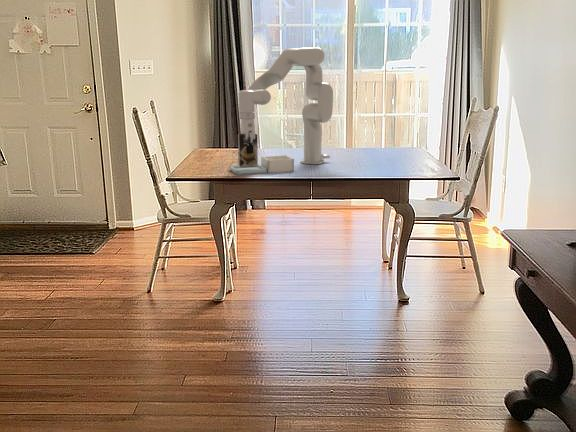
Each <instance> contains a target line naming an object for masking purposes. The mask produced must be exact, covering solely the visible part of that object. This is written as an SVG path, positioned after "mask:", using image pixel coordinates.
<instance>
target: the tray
mask: <svg viewBox="0 0 576 432" xmlns="http://www.w3.org/2000/svg"><path fill="white" fill-rule="evenodd" d="M229 170H230V171H231V172H232V173H233V174H235V175H236V176H245V175H257V174H259V175H260V174H267V172H266V169H265V168H264V167H262V166H261V164H259V163H258V167H245V168H240V167H239V165H230V166H229Z"/></svg>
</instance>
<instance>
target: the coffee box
mask: <svg viewBox="0 0 576 432" xmlns="http://www.w3.org/2000/svg"><path fill="white" fill-rule="evenodd" d="M248 139H250V138H248ZM248 142H249V141H248ZM237 149H238V150H237V151H238V153H237V156H238V166H239V167H240V168H245V167H258V164H259V163H258V161H259V160H258V159H259V158H258V153H259V152H258V151H259V150H258V134H257V133H255V139H253V153H252V154H247V140H246V139H245V135H243V134H241V133H238V134H237Z"/></svg>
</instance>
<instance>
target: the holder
mask: <svg viewBox="0 0 576 432" xmlns="http://www.w3.org/2000/svg"><path fill="white" fill-rule="evenodd" d="M260 161H261V163H260V166H262V167H264V168H265V169H266V173H282V172H292V171H295V158H293V157H291V156H289V155H286V154H285V155H284V154H283V155H281V154H280V155H270V156H267V155H266V156H265V155H264V156H260Z"/></svg>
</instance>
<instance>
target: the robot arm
mask: <svg viewBox="0 0 576 432" xmlns="http://www.w3.org/2000/svg"><path fill="white" fill-rule="evenodd" d="M325 56H326V55H325V52H324V50H323V49H322V48H320V47H318V46H316V47H314V46H313V47H312V46H309V47H308V46H305V47H300V48H299V47H298V48H297V47H295V48H294V47H293V48H292V47H291V48H285V49H284V50H283V51H282V52H281V53H280V54H279V55H278V57H277V59H276V60H275V61H274V62H273V64H272V65H271V67H270V68H269V69H268V70H267V71H264V72H263V73H262V74H261V75H260V76H259V77H257V78H256V79H255V80H254V81H253V82H252V83H251V85H250V86H249V88H248V89H242V90H239V92H238V117H239V120H240V134H243V135H245V139H246V140H247V154H252V153H253V139H255V134H256V130H255V128H256V127H255V118H256V116H255V115H256V112H255V109H256V108H255V105H258V106H259V105H260V106H265V105H267V104H269V103H270V102H271V100H272V96H271V93H270V92H269V91H268V90H267V89H269V88H270V87H273V86H274V85H276V84H279V83H281V82H283V80H285V78H286V77H287V75H288V73H290V71H291V70H292V69H293V67H303V68H304V70H305V75H306V76H305V77H306V79H305V96H306V99H308V100H310V101H316V102H309V103H307V104H305V105H304V106H303V108H302V110H301V111H302V112H301V113H302V120H303V121H302V122H303V158H302V159H301V160H300V163H301V164H303V165H304V164H305V165H320V164H324V163H325V159H331V158H330V157H331V156H330V154H323V153H322V142H323V141H322V140H323V137H322V136H323V135H322V134H323V130H322V129H323V128H322V125H321V123H323V124H324V123H328V122H329V121H330V120H331V119H332V115H333V105H334V90H333V87H332V85H331V84H330V83H328V82H323V81H324V80H323V69H322V65H321V64H322V63H323V62H324V60H325ZM248 138H250V139H248ZM248 141H249V142H248Z"/></svg>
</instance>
